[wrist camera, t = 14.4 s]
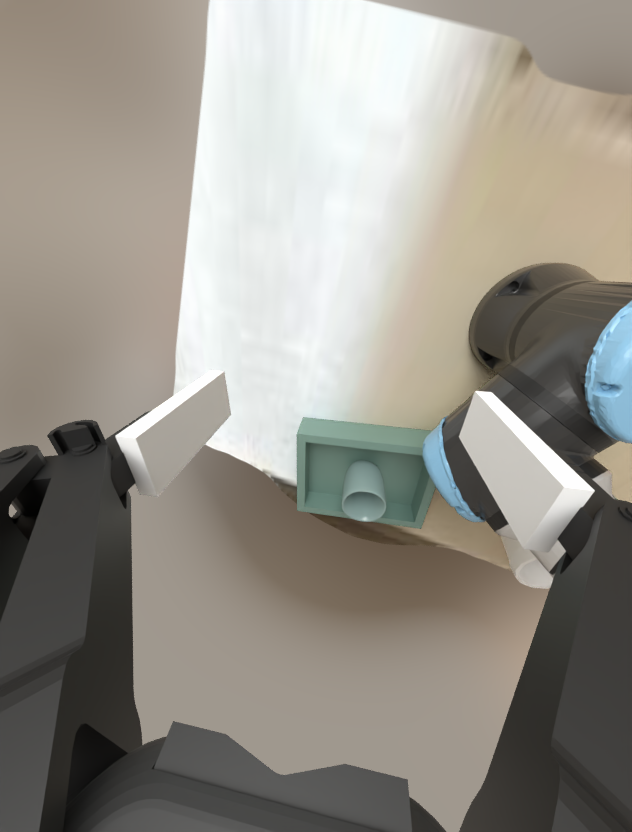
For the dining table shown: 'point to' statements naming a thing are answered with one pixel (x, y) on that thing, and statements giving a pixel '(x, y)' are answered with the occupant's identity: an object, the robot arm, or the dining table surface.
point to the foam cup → (526, 565)
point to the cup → (363, 492)
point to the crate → (382, 445)
